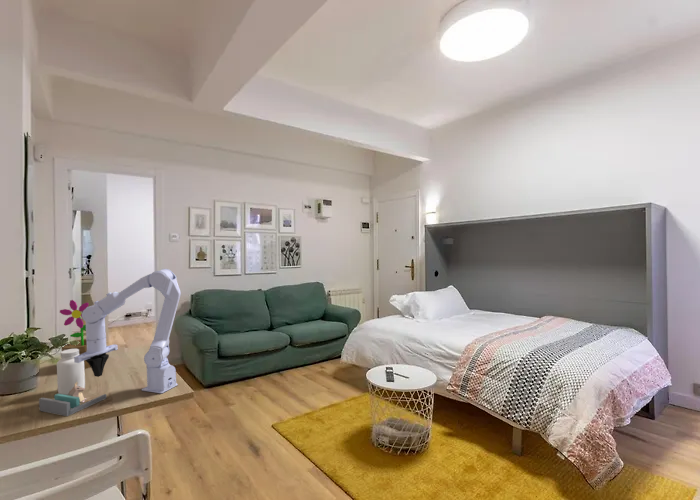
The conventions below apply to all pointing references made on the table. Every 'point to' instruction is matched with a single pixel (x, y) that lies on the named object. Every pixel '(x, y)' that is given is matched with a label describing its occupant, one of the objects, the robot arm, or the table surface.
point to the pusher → (68, 399)
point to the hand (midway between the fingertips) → (98, 375)
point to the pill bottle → (69, 371)
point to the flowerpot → (76, 314)
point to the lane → (64, 405)
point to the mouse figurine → (77, 392)
